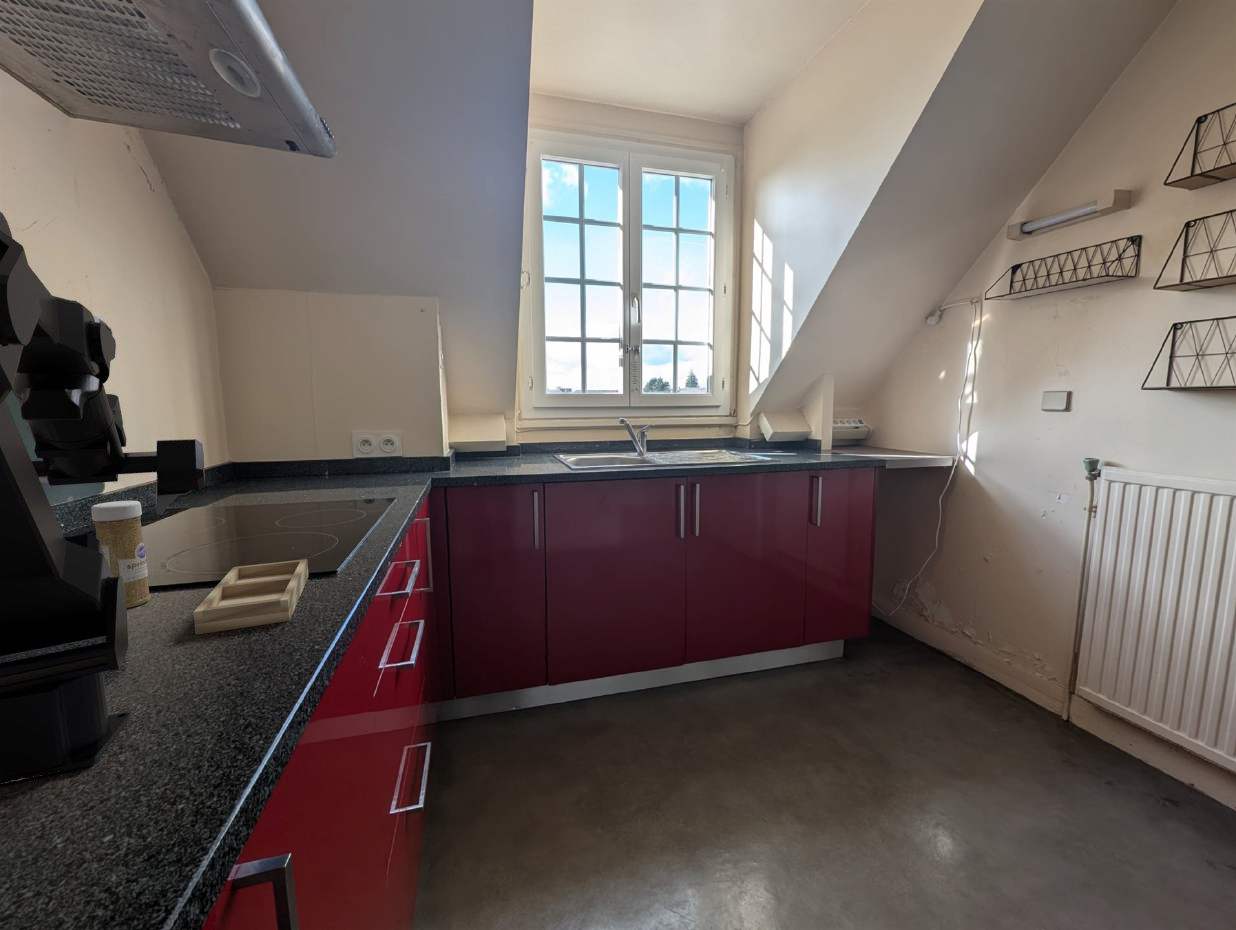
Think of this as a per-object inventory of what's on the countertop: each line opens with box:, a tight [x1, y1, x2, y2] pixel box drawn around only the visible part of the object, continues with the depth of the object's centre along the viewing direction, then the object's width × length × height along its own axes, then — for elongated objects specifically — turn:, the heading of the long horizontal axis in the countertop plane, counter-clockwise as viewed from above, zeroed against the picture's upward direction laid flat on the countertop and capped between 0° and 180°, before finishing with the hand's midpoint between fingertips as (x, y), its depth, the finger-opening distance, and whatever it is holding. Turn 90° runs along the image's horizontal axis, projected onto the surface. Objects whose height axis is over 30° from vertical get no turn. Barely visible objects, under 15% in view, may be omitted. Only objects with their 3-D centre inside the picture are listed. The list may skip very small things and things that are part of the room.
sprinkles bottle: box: [90, 500, 152, 609], centre depth 66 cm, size 5×5×13 cm
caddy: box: [192, 558, 309, 635], centre depth 68 cm, size 17×9×3 cm, turn 25°
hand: (106, 516), depth 59 cm, fingers open, 9 cm apart
